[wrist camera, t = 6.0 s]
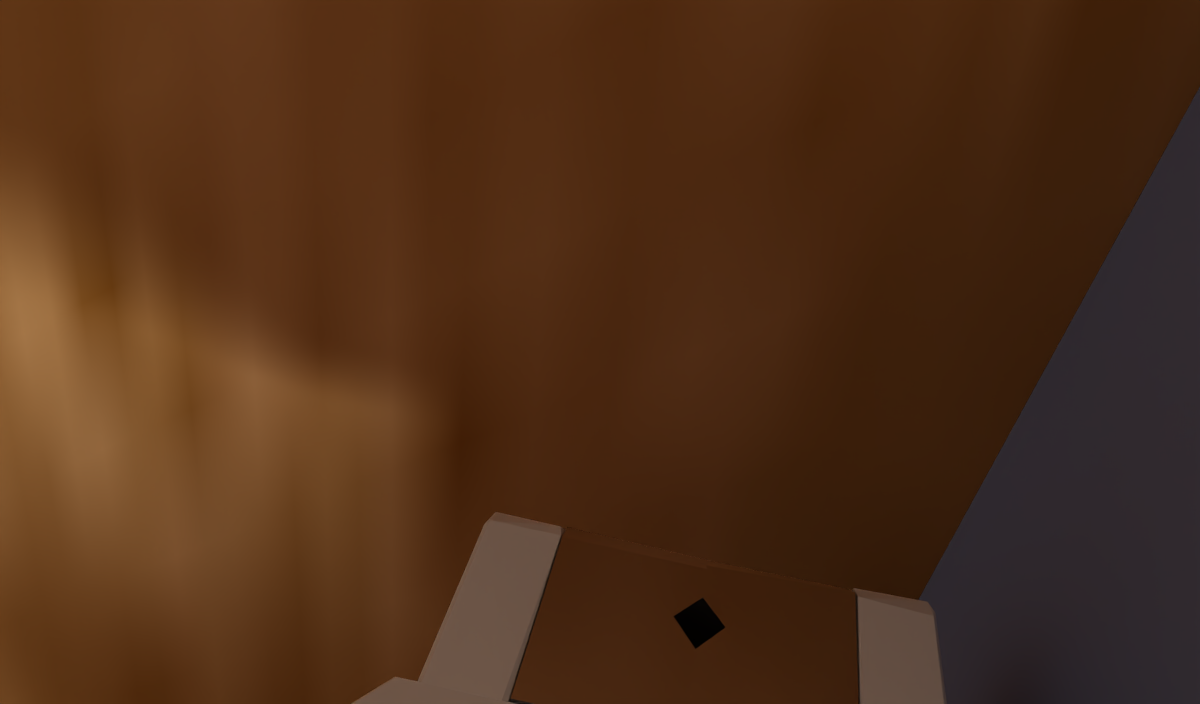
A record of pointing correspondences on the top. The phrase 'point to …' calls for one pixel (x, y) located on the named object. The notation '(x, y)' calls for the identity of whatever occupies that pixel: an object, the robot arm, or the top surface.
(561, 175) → the top surface
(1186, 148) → the navy carton
